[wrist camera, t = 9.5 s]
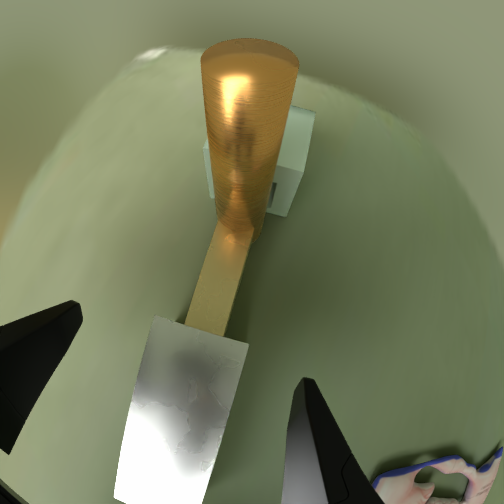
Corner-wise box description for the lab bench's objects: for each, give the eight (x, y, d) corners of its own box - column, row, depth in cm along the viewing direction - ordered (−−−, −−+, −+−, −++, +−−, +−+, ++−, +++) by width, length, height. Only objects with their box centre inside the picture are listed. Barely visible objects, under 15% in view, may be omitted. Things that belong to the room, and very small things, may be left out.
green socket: (286, 217, 21) (303, 172, 15) (210, 197, 21) (202, 147, 15) (299, 161, 22) (315, 112, 17) (231, 144, 22) (231, 92, 17)
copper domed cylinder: (208, 416, 15) (158, 551, 3) (164, 402, 15) (42, 491, 3) (281, 160, 21) (316, 11, 9) (245, 151, 21) (255, 0, 9)
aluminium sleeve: (201, 491, 14) (193, 526, 9) (137, 470, 14) (114, 497, 9) (245, 342, 18) (249, 344, 13) (174, 321, 18) (154, 314, 13)
